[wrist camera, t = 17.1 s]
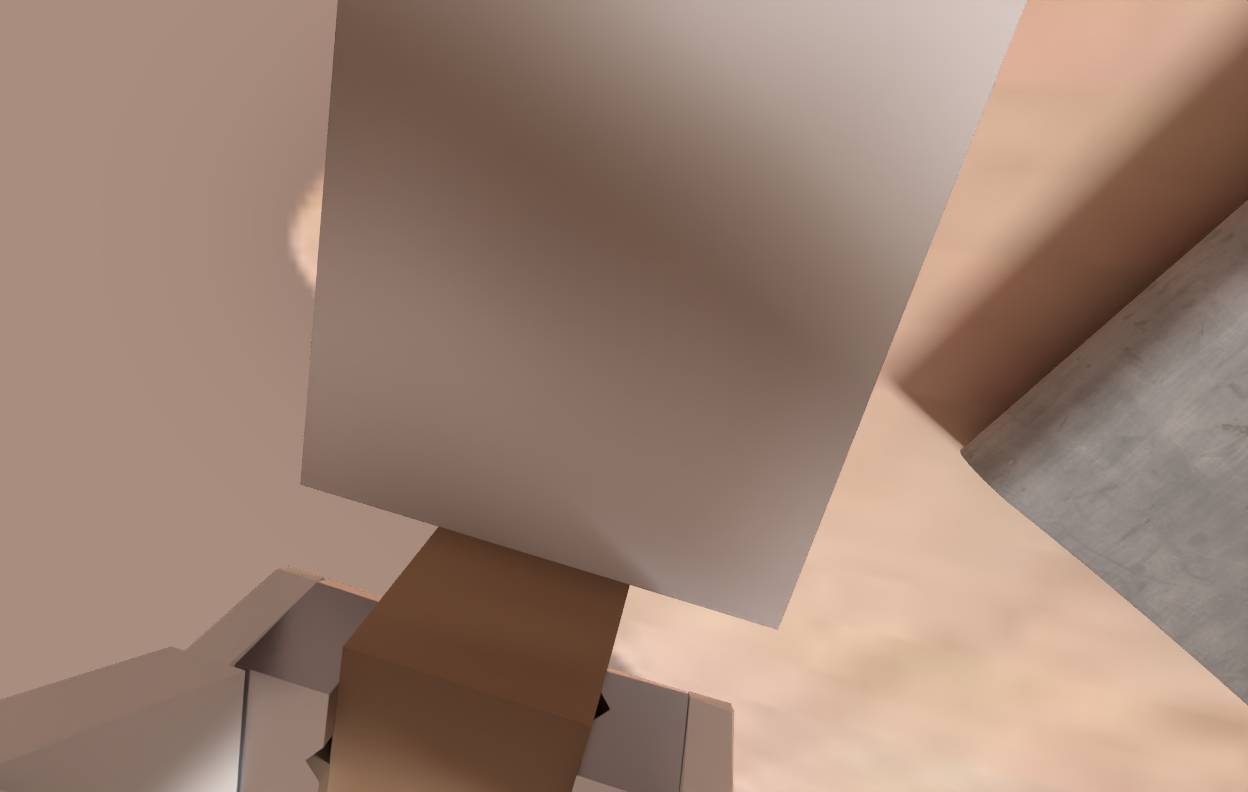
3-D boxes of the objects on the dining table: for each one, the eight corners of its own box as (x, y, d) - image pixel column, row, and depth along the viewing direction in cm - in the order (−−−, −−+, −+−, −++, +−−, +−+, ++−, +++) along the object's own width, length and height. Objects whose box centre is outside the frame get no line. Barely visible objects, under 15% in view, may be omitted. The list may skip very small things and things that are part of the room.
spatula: (604, 1027, 13) (560, 1292, 10) (296, 920, 13) (166, 1144, 10) (1053, -149, 6) (1320, -398, 3) (418, -289, 7) (157, -622, 4)
